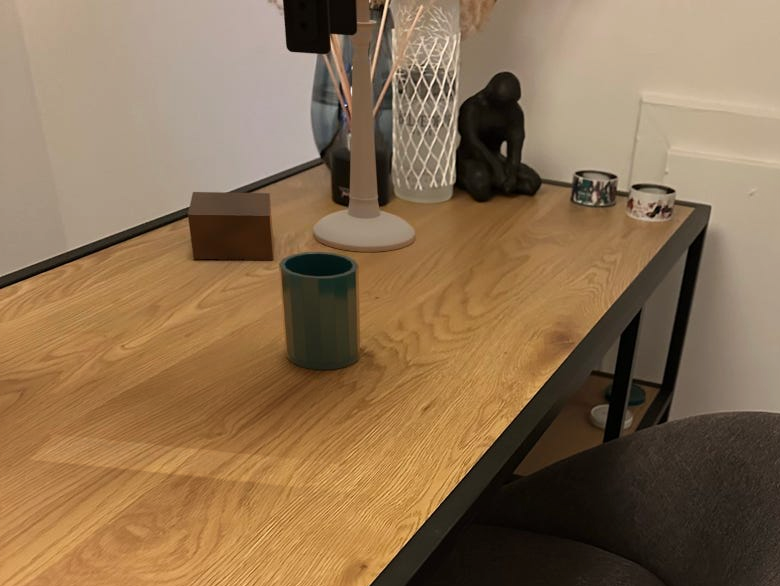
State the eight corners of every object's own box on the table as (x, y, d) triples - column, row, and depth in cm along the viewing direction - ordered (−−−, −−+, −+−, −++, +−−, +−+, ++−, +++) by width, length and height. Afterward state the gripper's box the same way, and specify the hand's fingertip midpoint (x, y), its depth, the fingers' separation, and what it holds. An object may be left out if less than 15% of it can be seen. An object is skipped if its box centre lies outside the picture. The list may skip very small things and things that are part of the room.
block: (193, 260, 108) (187, 214, 105) (198, 235, 115) (192, 191, 112) (273, 260, 109) (269, 215, 106) (273, 236, 116) (269, 193, 113)
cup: (278, 366, 88) (270, 273, 82) (296, 337, 93) (290, 248, 87) (352, 373, 87) (349, 281, 82) (366, 343, 93) (364, 255, 87)
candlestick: (349, 214, 125) (342, -66, 106) (433, 232, 121) (440, -55, 102) (292, 237, 116) (272, -64, 97) (380, 259, 112) (378, -52, 93)
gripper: (285, -254, 68) (303, 24, 79) (210, -282, 55) (244, 57, 66) (387, -248, 68) (390, 30, 79) (336, -275, 55) (349, 64, 66)
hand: (323, 42), depth 72 cm, fingers open, 9 cm apart
